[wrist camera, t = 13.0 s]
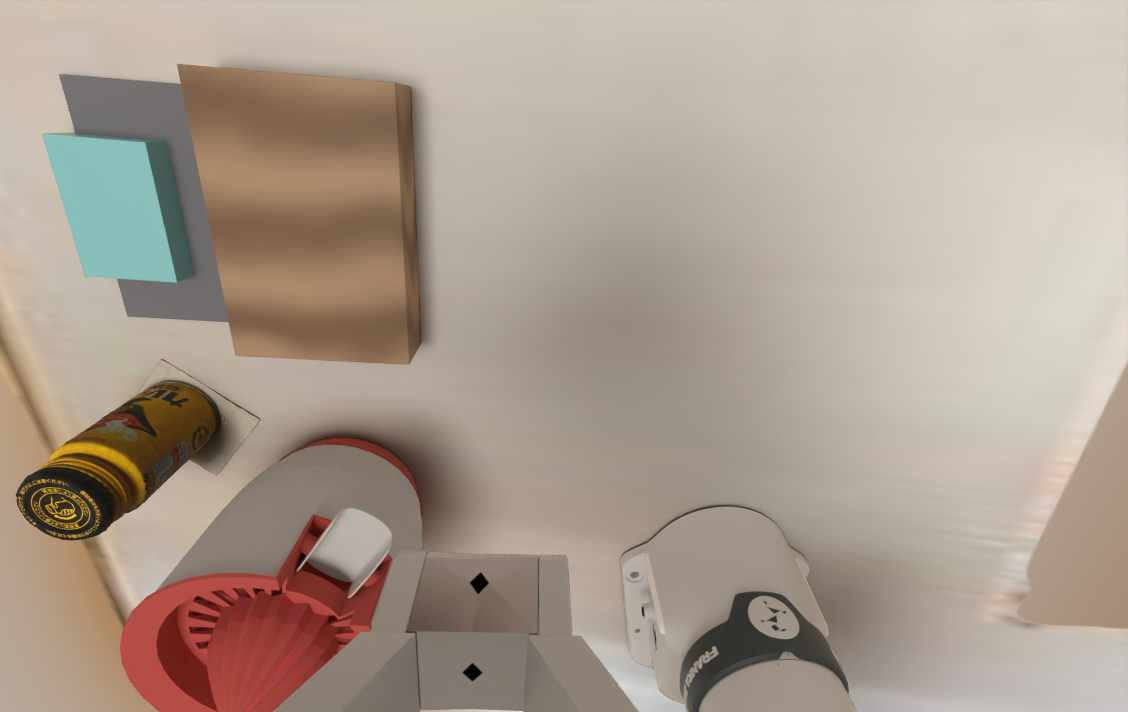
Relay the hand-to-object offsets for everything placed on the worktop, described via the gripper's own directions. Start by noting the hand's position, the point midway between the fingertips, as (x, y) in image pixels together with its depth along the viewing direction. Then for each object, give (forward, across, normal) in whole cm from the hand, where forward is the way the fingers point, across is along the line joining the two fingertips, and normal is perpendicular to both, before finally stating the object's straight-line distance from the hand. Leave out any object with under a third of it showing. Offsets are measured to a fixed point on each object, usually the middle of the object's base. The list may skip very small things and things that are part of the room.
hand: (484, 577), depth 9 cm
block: (+29, -27, 0) cm, 39 cm away
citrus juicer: (+31, -14, -23) cm, 41 cm away
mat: (+31, -25, 0) cm, 40 cm away
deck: (+31, -14, 0) cm, 34 cm away
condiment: (+31, -27, -17) cm, 45 cm away
